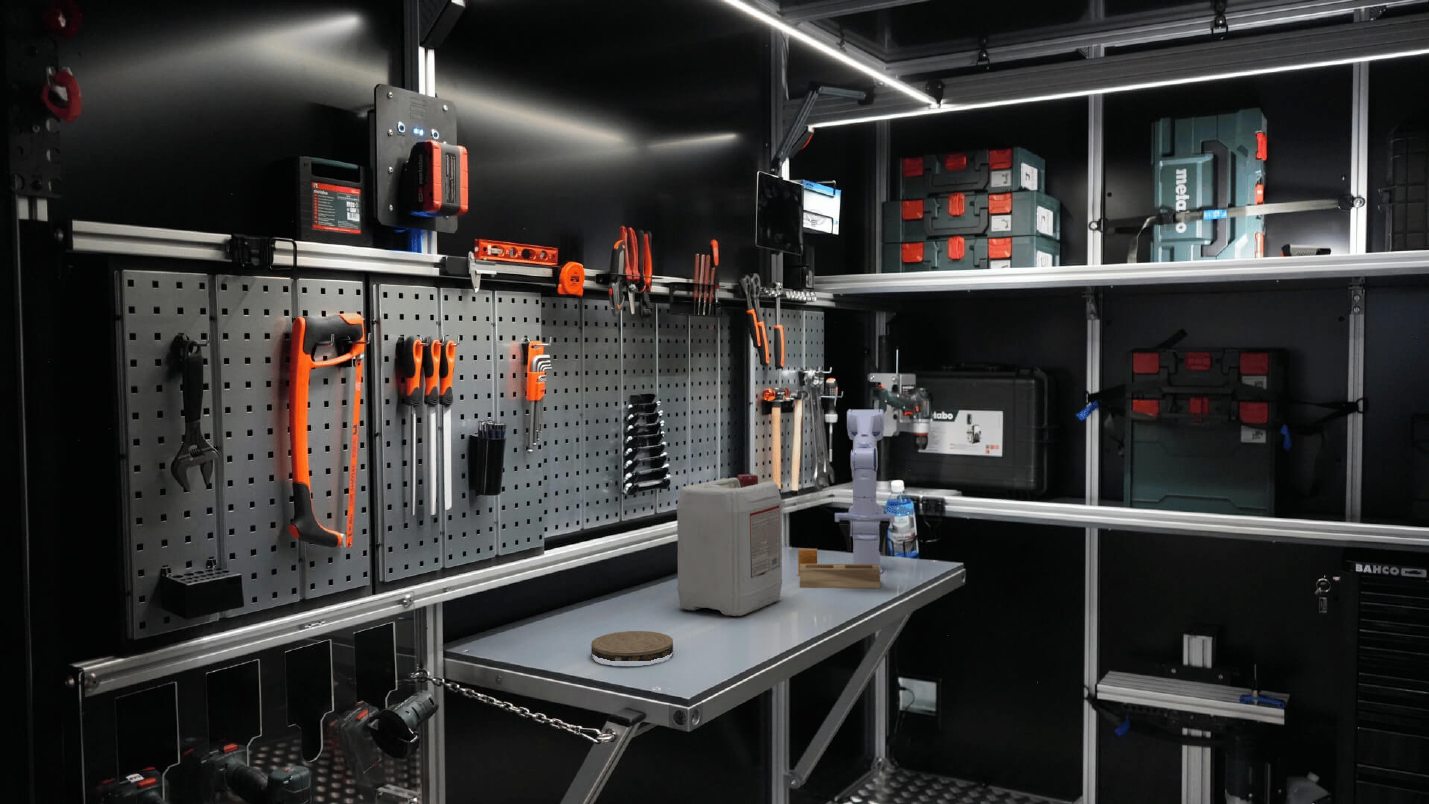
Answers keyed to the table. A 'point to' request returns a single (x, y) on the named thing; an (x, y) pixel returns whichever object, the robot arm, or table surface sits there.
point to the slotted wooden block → (840, 575)
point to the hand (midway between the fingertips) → (864, 551)
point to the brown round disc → (632, 646)
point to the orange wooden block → (806, 557)
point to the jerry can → (729, 545)
